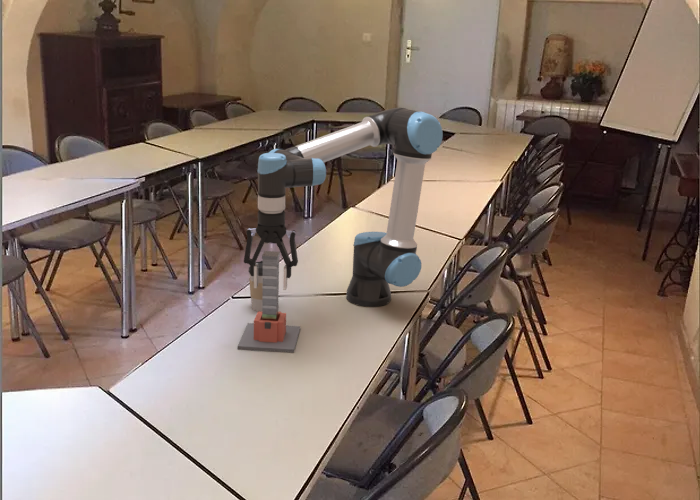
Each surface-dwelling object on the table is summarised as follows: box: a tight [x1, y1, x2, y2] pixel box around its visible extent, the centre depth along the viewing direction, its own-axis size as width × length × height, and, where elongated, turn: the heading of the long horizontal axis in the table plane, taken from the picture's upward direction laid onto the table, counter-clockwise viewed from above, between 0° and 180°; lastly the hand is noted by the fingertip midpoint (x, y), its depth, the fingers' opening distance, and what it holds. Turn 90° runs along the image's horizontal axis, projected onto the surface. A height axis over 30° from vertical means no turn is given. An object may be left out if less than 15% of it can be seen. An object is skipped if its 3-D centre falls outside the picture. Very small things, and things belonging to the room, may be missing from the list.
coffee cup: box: [248, 260, 263, 312], centre depth 229 cm, size 9×9×15 cm
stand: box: [237, 311, 301, 354], centre depth 208 cm, size 16×16×7 cm
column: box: [261, 250, 281, 319], centre depth 204 cm, size 4×4×19 cm
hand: (270, 287), depth 204 cm, fingers open, 8 cm apart
